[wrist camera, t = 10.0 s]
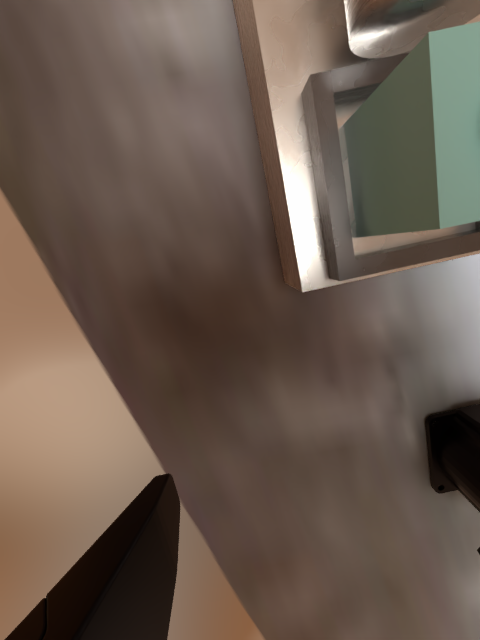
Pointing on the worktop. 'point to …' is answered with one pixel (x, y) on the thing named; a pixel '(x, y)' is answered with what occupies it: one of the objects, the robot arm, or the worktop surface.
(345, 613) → the worktop surface
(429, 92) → the green block with knob
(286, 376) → the worktop surface
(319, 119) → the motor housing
